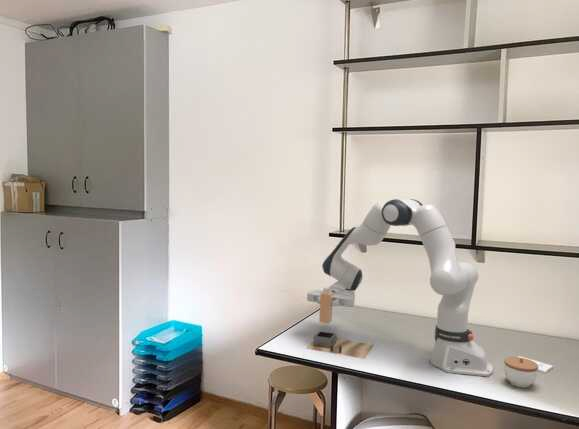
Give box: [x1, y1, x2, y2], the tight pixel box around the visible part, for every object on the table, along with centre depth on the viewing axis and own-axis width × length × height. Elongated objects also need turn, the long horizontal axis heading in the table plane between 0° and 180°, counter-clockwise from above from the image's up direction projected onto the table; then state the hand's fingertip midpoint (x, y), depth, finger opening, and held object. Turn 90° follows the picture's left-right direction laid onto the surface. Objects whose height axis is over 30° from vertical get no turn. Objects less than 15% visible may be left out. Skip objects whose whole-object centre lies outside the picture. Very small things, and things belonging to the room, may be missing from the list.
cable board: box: [305, 338, 375, 360], centre depth 199 cm, size 24×17×3 cm
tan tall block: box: [319, 287, 333, 325], centre depth 199 cm, size 4×4×14 cm
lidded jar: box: [503, 356, 538, 389], centre depth 170 cm, size 11×11×9 cm
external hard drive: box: [518, 355, 554, 375], centre depth 187 cm, size 2×8×12 cm
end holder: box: [312, 330, 338, 349], centre depth 200 cm, size 8×8×4 cm
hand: (325, 303), depth 198 cm, fingers closed on tan tall block, 4 cm apart
